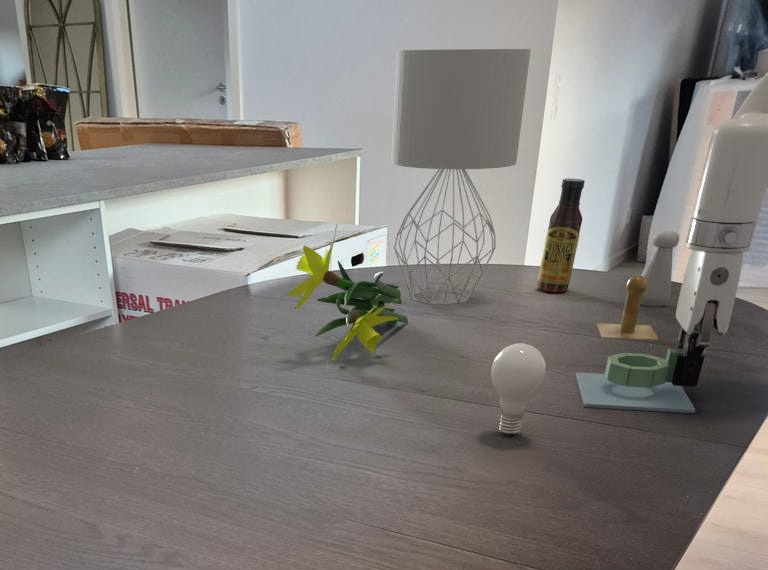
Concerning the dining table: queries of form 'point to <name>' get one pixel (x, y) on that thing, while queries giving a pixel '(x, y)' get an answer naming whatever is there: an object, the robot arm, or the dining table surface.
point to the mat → (631, 395)
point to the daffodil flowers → (349, 299)
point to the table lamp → (456, 129)
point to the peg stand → (630, 314)
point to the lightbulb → (516, 382)
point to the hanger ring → (641, 369)
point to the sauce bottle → (562, 239)
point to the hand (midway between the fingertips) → (682, 381)
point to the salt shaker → (660, 269)
